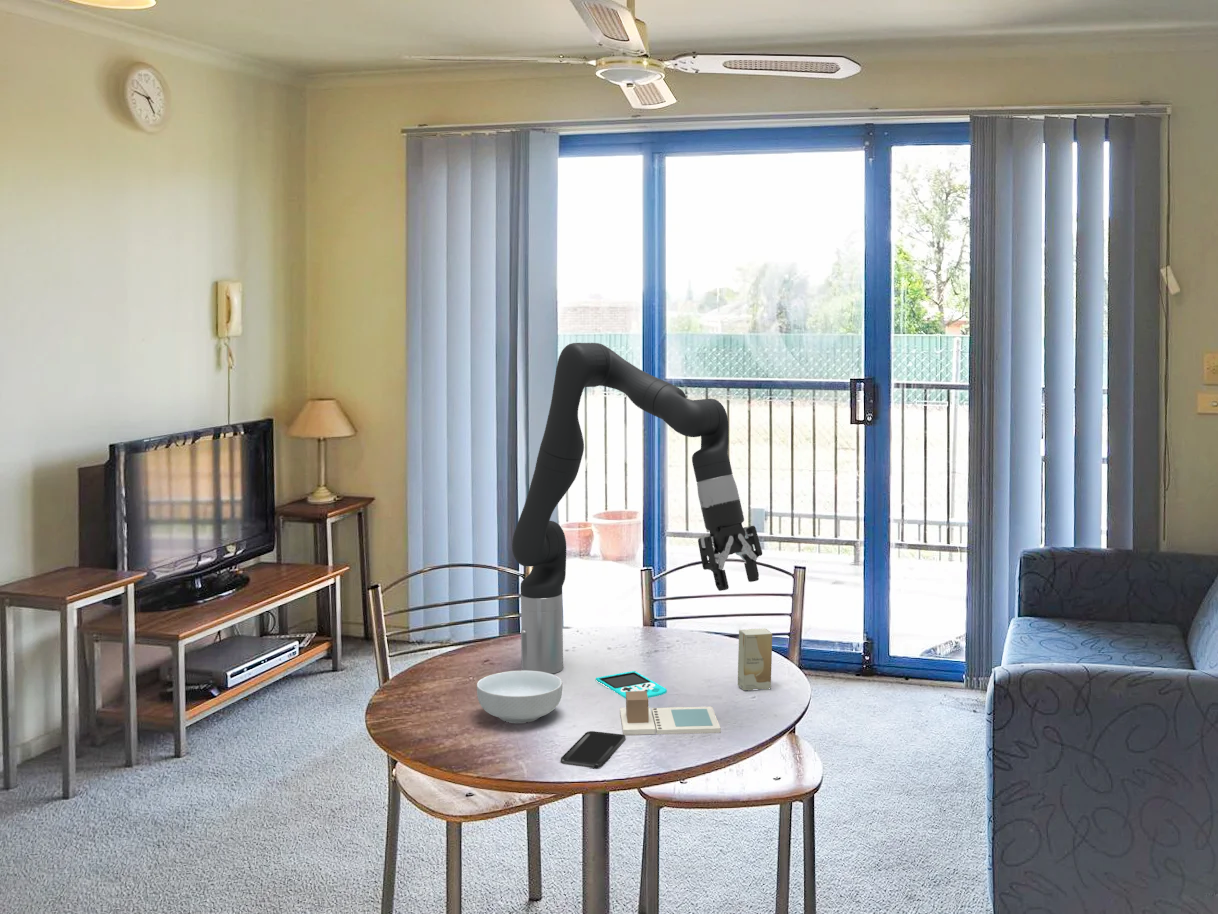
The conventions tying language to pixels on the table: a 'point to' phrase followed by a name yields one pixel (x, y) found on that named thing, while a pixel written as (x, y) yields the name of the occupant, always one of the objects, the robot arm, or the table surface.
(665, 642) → the table surface
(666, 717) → the ticket pad
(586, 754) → the phone
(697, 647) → the table surface
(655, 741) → the table surface
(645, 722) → the brown cream block
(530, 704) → the cereal bowl
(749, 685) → the skincare box
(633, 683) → the handheld game console
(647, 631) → the table surface
